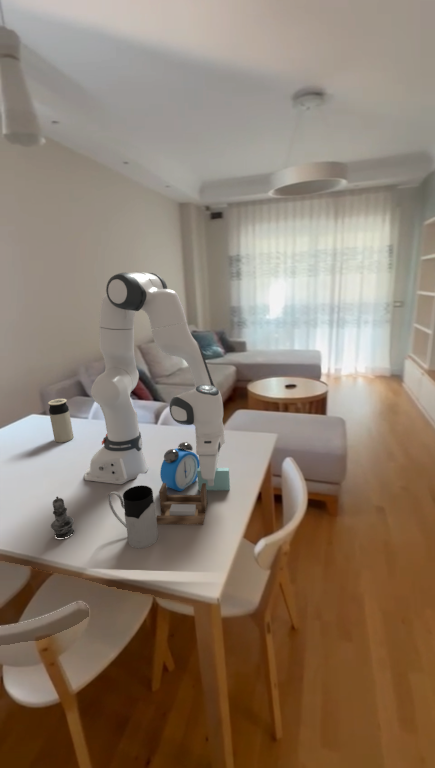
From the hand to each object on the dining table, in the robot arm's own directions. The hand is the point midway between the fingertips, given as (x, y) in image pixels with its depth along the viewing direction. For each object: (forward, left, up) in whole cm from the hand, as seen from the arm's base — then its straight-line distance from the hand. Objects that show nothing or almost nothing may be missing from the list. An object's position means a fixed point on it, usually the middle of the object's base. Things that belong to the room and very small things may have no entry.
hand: (212, 477), depth 120 cm
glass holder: (-19, -23, -6) cm, 30 cm away
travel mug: (-72, +42, -6) cm, 84 cm away
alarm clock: (-11, +3, -6) cm, 13 cm away
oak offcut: (-7, -15, -4) cm, 17 cm away
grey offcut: (-7, -15, -2) cm, 17 cm away
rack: (-7, -13, -6) cm, 16 cm away
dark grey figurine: (-40, -21, -6) cm, 46 cm away
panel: (0, 0, -6) cm, 6 cm away
